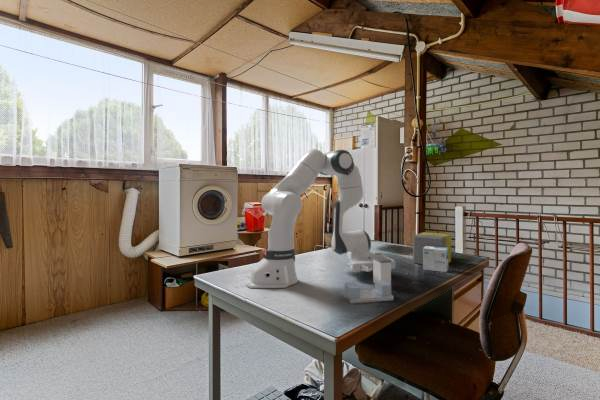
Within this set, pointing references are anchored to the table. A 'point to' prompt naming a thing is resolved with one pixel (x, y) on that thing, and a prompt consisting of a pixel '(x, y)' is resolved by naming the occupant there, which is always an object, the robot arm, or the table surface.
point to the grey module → (381, 269)
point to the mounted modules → (380, 287)
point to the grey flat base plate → (368, 297)
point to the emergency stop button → (429, 244)
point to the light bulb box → (435, 258)
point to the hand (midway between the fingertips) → (379, 269)
